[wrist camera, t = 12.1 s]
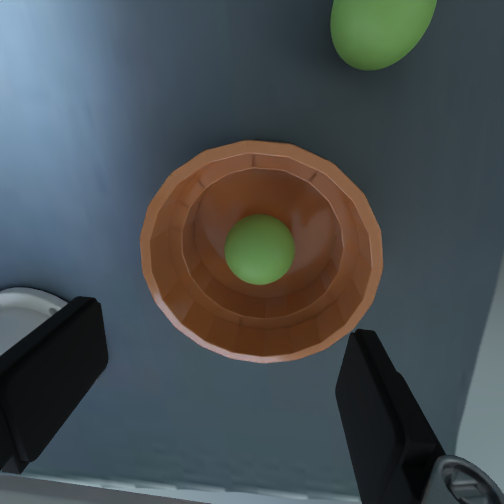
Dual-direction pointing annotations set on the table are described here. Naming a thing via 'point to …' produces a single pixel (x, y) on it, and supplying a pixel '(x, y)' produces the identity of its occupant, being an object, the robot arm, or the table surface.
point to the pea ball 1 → (259, 249)
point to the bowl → (292, 282)
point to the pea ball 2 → (378, 30)
